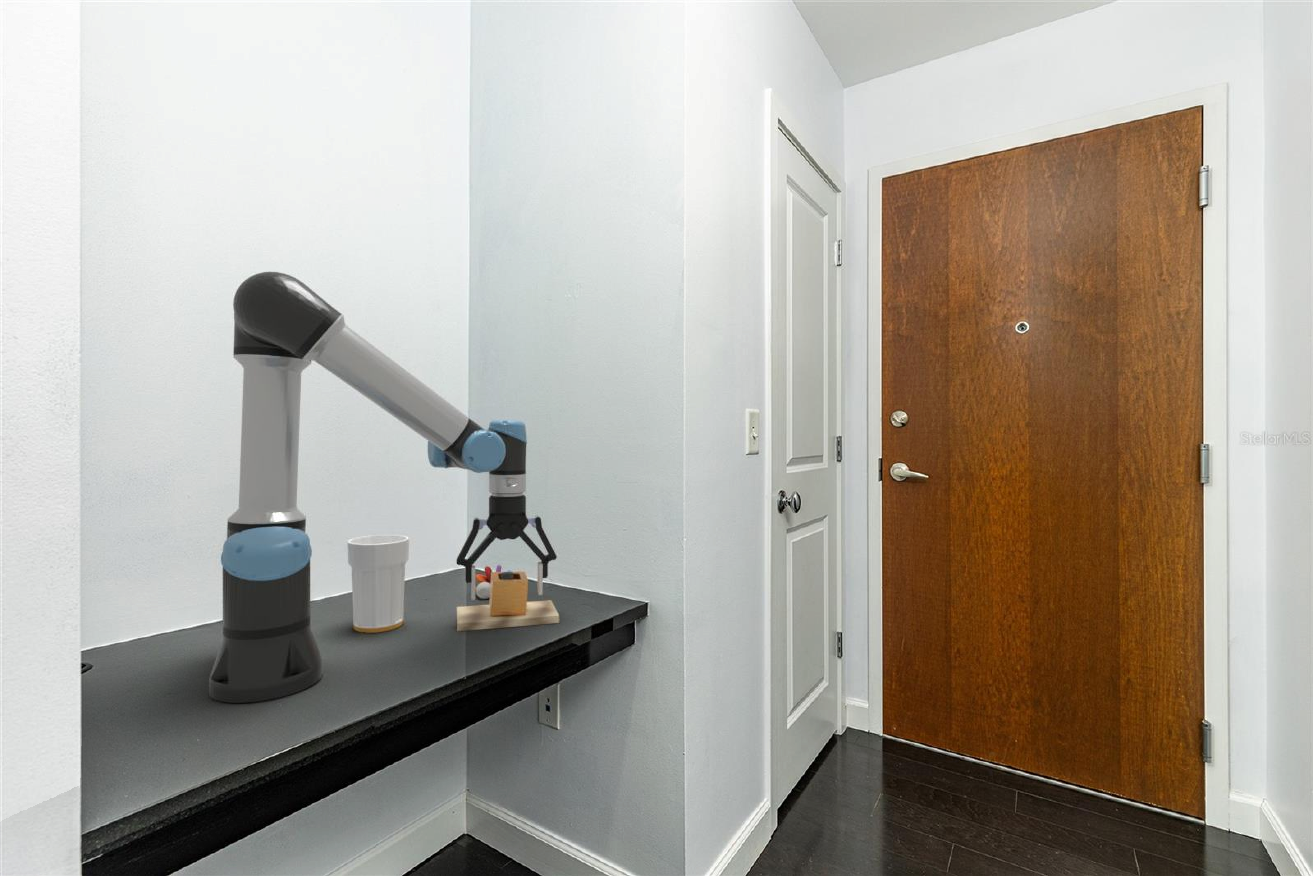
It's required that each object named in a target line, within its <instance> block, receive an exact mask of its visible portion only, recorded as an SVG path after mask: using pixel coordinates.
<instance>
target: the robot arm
mask: <svg viewBox="0 0 1313 876" xmlns="http://www.w3.org/2000/svg"><path fill="white" fill-rule="evenodd" d="M232 303H233V304H232V306H233V319H234V320H233V322H234V327H233V328H234V329H233V330H234V331H233V353H232V354H233V355H232V357H233V358H234V359H235V360H236V362H238V363H239V364H240V365H241V366H242V368H243V374H242V376H243V377H242V378H243V379H242V402H241V403H242V404H241V405H242V407H241V429H240V430H241V434H240V435H241V437H240V438H241V439H240V460H239V461H240V462H239V464H240V465H239V491H238V493H239V494H238V509H236V511H235V512H234V513H232V514H231V515H230V516H229V517H228V518H227V524H226V525H227V526H226V527H227V528H226V539H225V540H224V542H223V547H222V553H221V554H220V562H221V566H222V641H221V644H220V647H219V650H218V652H217V655H216V658H215V660H214V663H213V666H212V669H211V672H210V675H209V677H208V678H209V679H208V695H209V696H210V697H209V698H211V699H213V700H215V701H217V700H218V702H224V703H229V704H231V703H232V704H235V703H236V704H239V703H240V704H242V703H245V704H247V703H256V702H262V701H268V700H274V699H278V698H282V697H286V696H289V695H292V694H295V693H298V692H302V691H304V690H305V689H308V688H310V687H312V686H313V685H315V684H316V683H318V682H319V681H320V680H321V679H322V677H323V675H324V661H323V657H322V655H321V651H320V649H319V647H318V644H317V641H316V638H315V636H314V633H313V631H312V627H311V626H312V625H311V558H312V553H313V550H312V549H313V548H312V546H311V542H310V541H311V539H310V536H309V535H308V533H306V526H307V525H306V523H307V521H306V520H307V519H306V518H307V516H306V515H305V514H304V513H303V512H302V511H301V510H300V509H299V508H298V507H297V504H298V503H297V502H298V500H297V499H298V481H299V480H298V477H299V476H298V474H299V473H298V472H299V448H300V446H299V445H300V423H301V422H300V420H301V419H300V417H301V392H302V391H301V387H302V373H303V371H305V369H307V368H308V367H309V366H310V365H312V361H314V362H315V363H316V364H318V365H319V366H321V367H322V368H324V369H325V370H326V371H328V372H330V373H331V374H332V375H334V376H335V377H336V378H338V379H339V380H341V381H342V382H344V383H345V384H347V385H348V386H350V387H351V388H352V389H354V390H356V391H357V392H358V393H360V394H361V395H362V396H364V397H365V398H366V399H368V400H370V401H371V402H373V403H374V404H375V405H377V406H379V408H381V409H383V411H385V412H387V413H388V414H389V415H391V416H392V417H394V418H396V419H397V420H398V421H399V422H401V423H402V424H404V425H405V426H406V427H408V428H409V429H411V430H412V431H413V432H416V433H417V434H418V435H419V436H421V437H422V438H424V439H426V441H427V458H428V461H429V464H430V466H431V467H433V468H442V469H443V468H444V469H449V468H458V469H464V470H468V471H471V472H474V473H477V474H481V473H488V493H490V494H491V495H490V496H489V497H488V517H487V519H485V518H484V519H483V518H478V517H474V518H473V521H472V527H471V530H470V533H469V535H468V536H467V538H466V539H465V542H464V544H463V546H462V548H461V550H460V552H459V553H458V555H457V557H456V564H457V565H458V566H463V567H464V568H465V583H466V584H469V583H471V585H470V588H471V589H470V591H471V593H470V595H471V596H470V597H471V601H475V600H476V592H475V586H476V579H475V576H476V565H475V563H476V561H478V559H479V558H480V557H481V556H482V554H483V553H484V552H485V551H486V550H487V548H489V546H490V545H491V543H493V542H494V541H495V539H498V540H499V541H503V540H507V539H508V540H516V539H518V538H520V539H521V540H522V541H523V542H524V543H525V544H526V546H528V548H530V550H531V551H532V552H533V553H534V554H535V556H537V557H538V559H539V560H540V561H537V581H536V582H537V587H536V588H537V590H536V591H537V594H538V596H543V594H544V593H543V588H544V587H543V581H544V580H543V579H547V578H548V576H549V575H548V574H549V562H552V561H555V560H556V559H557V558H558V557H557V554H556V552H555V550H554V548H553V546H552V544H551V542H550V540H549V539H548V537H547V534H546V532H545V531H544V528H543V524H542V518H541V517H540V515H535V516H534V517H533V516H532V517H527V497H526V494H524V493H526V492H527V474H526V473H527V444H528V441H527V431H526V430H527V429H526V424H525V422H523V421H522V420H490V422H489V424H488V425H489V426H488V428H487V429H485V428H483V427H482V426H480V425H479V424H478V423H476V422H475V421H474V420H472V419H471V418H469V417H468V416H467V415H466V414H464V413H463V412H462V411H461V410H459V409H458V408H456V407H455V406H454V405H452V404H451V403H450V402H448V401H447V400H446V399H445V398H443V397H442V396H441V395H439V394H438V393H437V392H435V391H434V390H433V389H431V388H430V387H428V386H427V385H426V384H424V382H422V381H420V380H419V378H416V376H414V375H412V374H411V372H409V371H407V370H406V369H404V368H403V366H401V365H399V364H398V363H396V362H395V360H393V359H391V358H390V357H389V356H387V355H386V354H385V353H383V352H382V351H381V350H379V349H378V348H377V347H376V346H374V345H373V344H371V343H370V342H369V341H368V340H366V338H364V337H362V336H361V335H360V334H359V333H357V332H356V331H354V330H353V329H352V328H350V327H349V326H348V325H346V323H345V322H346V321H345V317H344V314H342V312H340V311H338V310H337V309H336V308H334V307H333V306H332V305H331V304H330V303H328V301H326V300H324V299H323V298H322V297H321V296H319V295H318V293H316V292H315V291H313V289H312V288H310V287H309V286H308V285H306V284H305V283H304V282H302V281H301V280H300V279H298V278H296V277H294V276H293V275H290V274H286V273H284V272H280V271H263V272H260V273H255V274H253V275H251V276H249V277H247V279H245V280H244V281H243V282H241V283H240V285H239V286H238V288H237V289H236V291H235V293H234V297H233V302H232ZM529 524H530V525H531V527H533V528H535V530H536V532H537V534H538V537H539V538H540V541H541V542H542V543H543V545H544V549H546V552H547V554H544V552H543V551H542V550H541V549H540V548H539V547H538V545H536V543H534V541H533V540H532V539H531V538H530V537H529V535H528V534H527V533H526V532H525V529H526V527H527V526H528V525H529ZM485 526H487V528H488V529H489V530H490V532H489V533H488V534H487V535H486V537H485V538H484V539H483V540H482V541H481V543H480V544H479V545H478V547H477V548H476V549H474V551H473V552H472V553H471V555H470V556H468V558H467V559H466V557H467V555H468V553H469V551H470V549H471V548H472V546H473V543H474V541H475V539H476V538H477V535H478V533H479V531H480V530H482V529H483V528H484V527H485Z"/></svg>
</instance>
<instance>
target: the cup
mask: <svg viewBox="0 0 1313 876" xmlns="http://www.w3.org/2000/svg"><path fill="white" fill-rule="evenodd" d="M409 550H410V538H409V536H408V535H407V536H406V535H404V534H403V535H402V534H374V535H373V534H372V535H364V536H363V535H362V536H358V537H353V538H351V539H348V540H347V561H348V565H349V566H350V567H351V587H352V588H351V589H352V616H353V617H352V618H353V619H352V621H353V630H354V631H355V632H358V633H364V632H365V633H366V634H367V633H369V634H371V633H372V634H373V633H382V632H387V631H391V630H392V631H393V630H395V629H397V628H399V627H401V626H402V625H404V608H405V607H404V606H405V605H404V604H405V580H406V579H405V576H406V564H407V562H408V560H409Z"/></svg>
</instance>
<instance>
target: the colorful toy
mask: <svg viewBox="0 0 1313 876" xmlns="http://www.w3.org/2000/svg"><path fill="white" fill-rule="evenodd" d="M491 572H493V570H492V568H491V567H490V566H488V565H486V566H485V567H484V573H485V574H481V573H479V574H478V573H477V574H475V581H477V582H478V584H477V585H476V584H475V595H476V596H477V597H478V598H479V599H481V600H487V599H490V584H491ZM495 572H502V565H500V564H498V565H497V566H496V569H495ZM506 572H513V571H512V570H508V571H506Z"/></svg>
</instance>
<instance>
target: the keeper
mask: <svg viewBox="0 0 1313 876" xmlns="http://www.w3.org/2000/svg"><path fill="white" fill-rule="evenodd" d="M502 572H503V573H501V580H507V579H513V572H514V571H512V572H507V571H502ZM559 623H560V614H559V613H558V610H557V609H556V607H555V605H554V603H553V601H552V600H551V599H548V600H534V601H533V600H532V601H527V606H526V615H491V613H490V607H489V604H479V605H469V606H468V605H467V606H466V605H465V606H456V632H466V631H467V632H468V631H476V630H477V631H478V630H489V629H490V630H491V629H501V628H513V627H514V628H515V627H516V628H517V627H525V626H528V627H529V626H537V625H538V626H539V625H551V624H559Z"/></svg>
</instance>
